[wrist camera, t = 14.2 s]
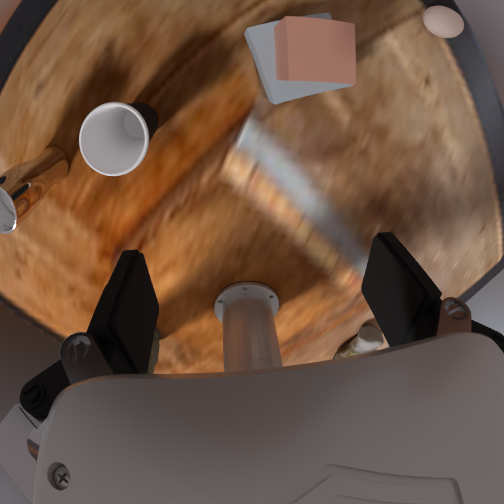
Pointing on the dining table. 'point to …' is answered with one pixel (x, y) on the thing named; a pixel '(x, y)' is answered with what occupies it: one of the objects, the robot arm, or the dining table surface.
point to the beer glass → (29, 186)
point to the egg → (443, 21)
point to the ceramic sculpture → (362, 342)
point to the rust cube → (315, 50)
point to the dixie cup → (117, 136)
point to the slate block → (264, 58)
